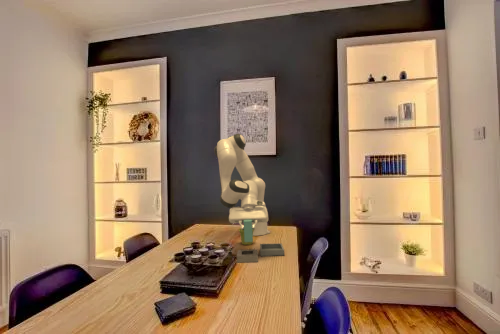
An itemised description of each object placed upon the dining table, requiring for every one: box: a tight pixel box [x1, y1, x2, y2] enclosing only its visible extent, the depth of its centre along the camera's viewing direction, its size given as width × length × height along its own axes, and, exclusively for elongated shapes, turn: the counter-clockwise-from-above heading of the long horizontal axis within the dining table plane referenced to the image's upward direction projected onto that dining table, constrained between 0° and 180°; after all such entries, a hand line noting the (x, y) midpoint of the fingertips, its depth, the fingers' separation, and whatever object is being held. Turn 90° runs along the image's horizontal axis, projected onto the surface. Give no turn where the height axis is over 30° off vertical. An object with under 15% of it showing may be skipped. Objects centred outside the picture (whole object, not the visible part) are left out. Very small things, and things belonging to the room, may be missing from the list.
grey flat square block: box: [236, 248, 259, 264], centre depth 126 cm, size 10×10×3 cm
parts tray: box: [259, 242, 285, 257], centre depth 135 cm, size 12×12×3 cm
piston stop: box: [243, 220, 254, 243], centre depth 127 cm, size 4×4×10 cm
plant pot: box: [238, 227, 254, 246], centre depth 154 cm, size 9×9×9 cm
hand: (248, 229), depth 126 cm, fingers closed on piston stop, 4 cm apart
